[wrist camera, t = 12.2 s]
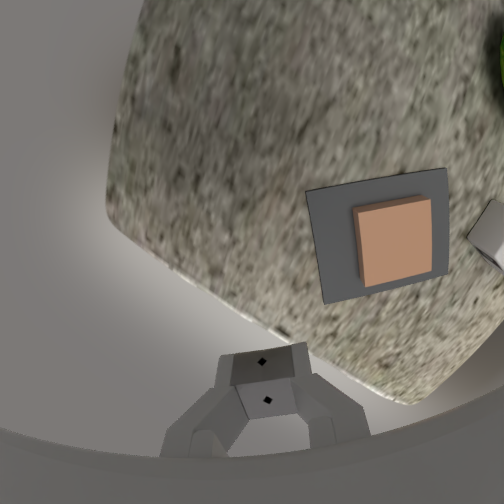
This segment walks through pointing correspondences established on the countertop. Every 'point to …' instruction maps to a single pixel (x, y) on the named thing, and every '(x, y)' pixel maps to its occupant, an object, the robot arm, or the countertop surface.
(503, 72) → the lettuce
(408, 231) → the block
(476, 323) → the countertop surface
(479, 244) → the container
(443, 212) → the mat
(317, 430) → the robot arm
